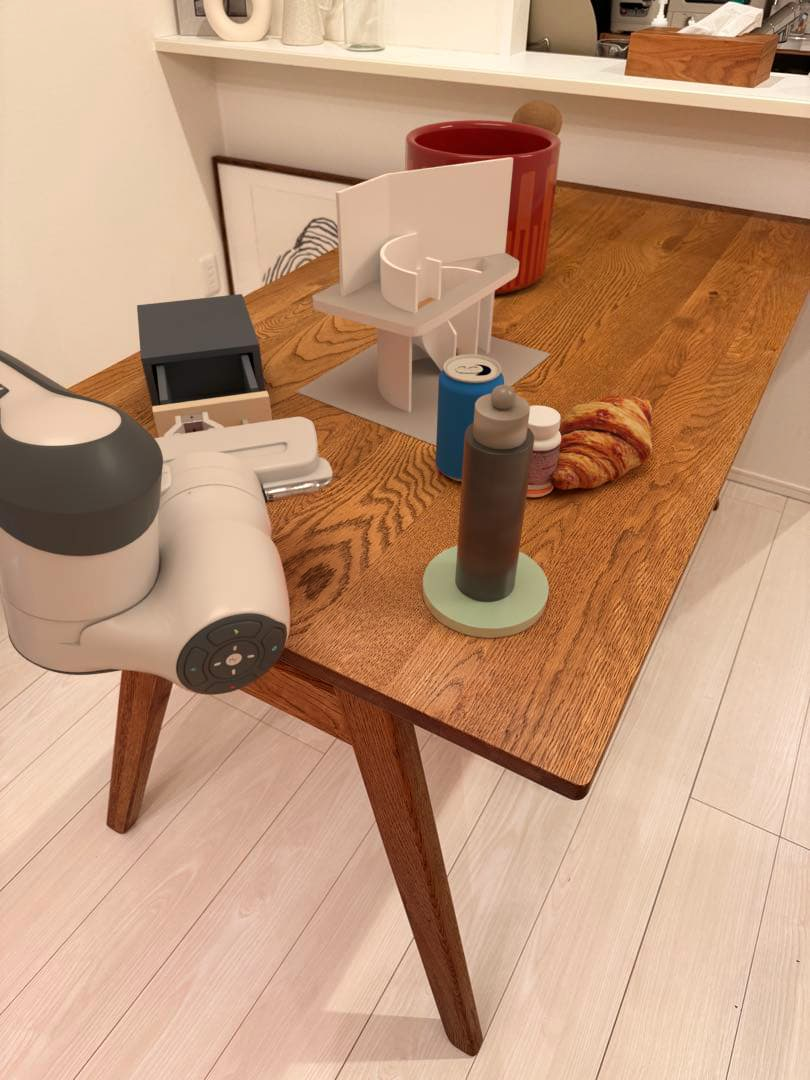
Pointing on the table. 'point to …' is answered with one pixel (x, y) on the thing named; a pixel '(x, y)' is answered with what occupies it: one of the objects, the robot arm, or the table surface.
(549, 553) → the table surface
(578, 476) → the croissant
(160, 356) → the cabinet
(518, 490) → the pepper mill
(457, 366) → the beverage can
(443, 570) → the disc
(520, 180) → the planter
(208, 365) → the drawer
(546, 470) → the pill bottle
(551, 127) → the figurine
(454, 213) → the architectural model
